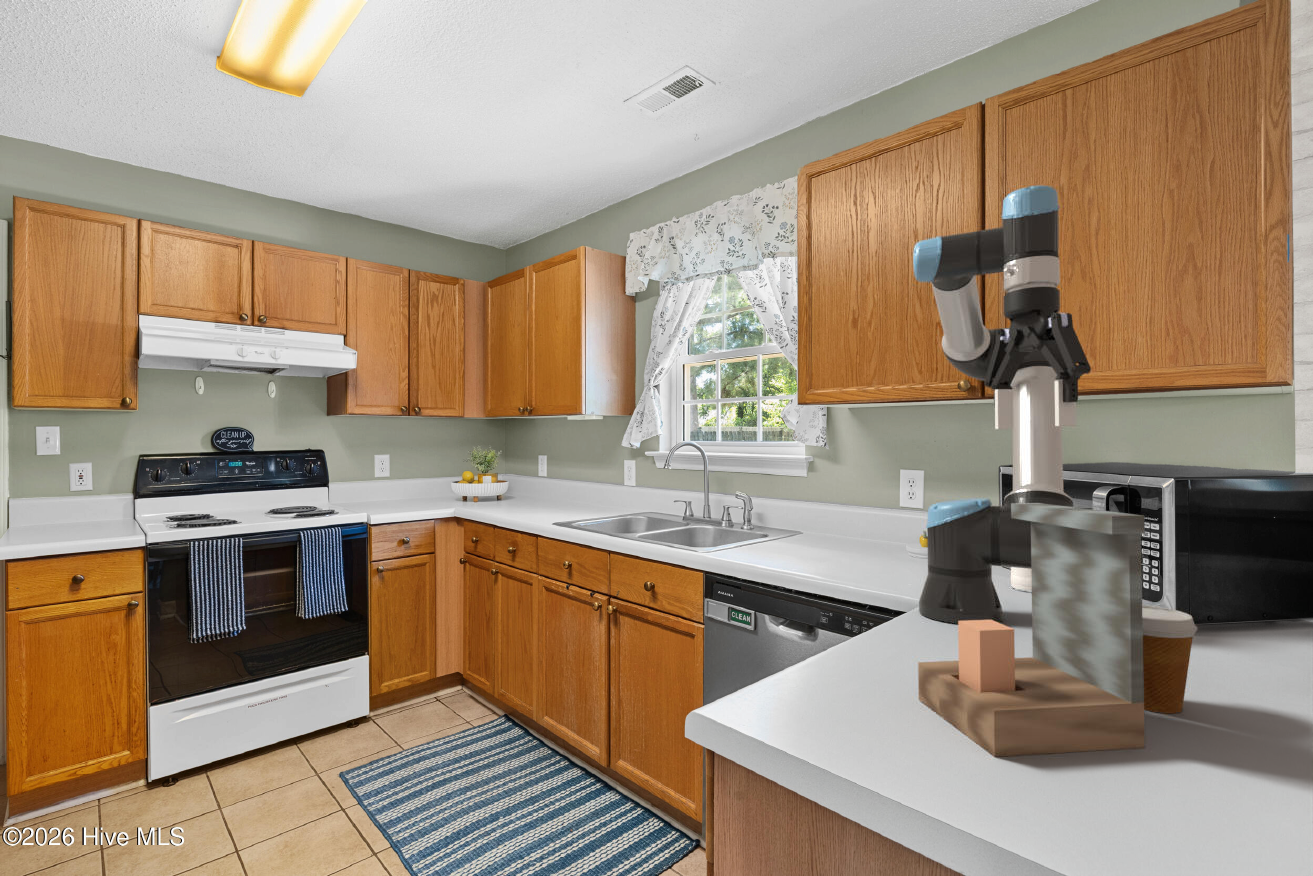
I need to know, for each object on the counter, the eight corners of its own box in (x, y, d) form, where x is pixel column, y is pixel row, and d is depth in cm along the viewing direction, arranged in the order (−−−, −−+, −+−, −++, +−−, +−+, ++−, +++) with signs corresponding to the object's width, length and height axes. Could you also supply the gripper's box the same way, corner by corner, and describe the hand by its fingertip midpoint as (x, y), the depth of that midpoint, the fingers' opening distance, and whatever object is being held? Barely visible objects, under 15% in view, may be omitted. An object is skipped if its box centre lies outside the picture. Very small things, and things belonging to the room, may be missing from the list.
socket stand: (916, 698, 87) (914, 504, 87) (1040, 692, 89) (1038, 503, 89) (997, 759, 70) (994, 518, 70) (1148, 749, 72) (1144, 515, 72)
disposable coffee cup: (1100, 704, 84) (1098, 612, 85) (1115, 685, 91) (1114, 600, 91) (1194, 726, 78) (1192, 626, 78) (1203, 704, 84) (1201, 612, 85)
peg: (959, 717, 81) (958, 620, 81) (992, 715, 81) (991, 619, 81) (981, 732, 76) (979, 630, 76) (1015, 730, 77) (1014, 629, 77)
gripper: (961, 307, 112) (962, 429, 111) (1069, 267, 87) (1071, 424, 87) (1001, 308, 113) (1003, 429, 112) (1119, 268, 88) (1122, 424, 87)
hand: (1033, 427), depth 99 cm, fingers open, 13 cm apart
